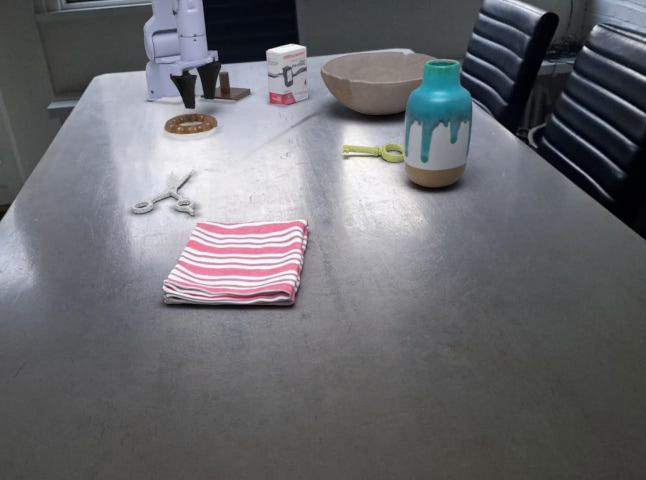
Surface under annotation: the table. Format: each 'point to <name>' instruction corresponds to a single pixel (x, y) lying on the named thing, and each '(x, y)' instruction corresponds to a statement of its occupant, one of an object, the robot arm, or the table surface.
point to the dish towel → (239, 264)
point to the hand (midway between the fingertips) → (200, 103)
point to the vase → (437, 126)
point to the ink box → (287, 74)
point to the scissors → (169, 191)
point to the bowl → (375, 80)
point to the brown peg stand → (228, 89)
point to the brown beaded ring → (176, 128)
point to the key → (378, 151)
